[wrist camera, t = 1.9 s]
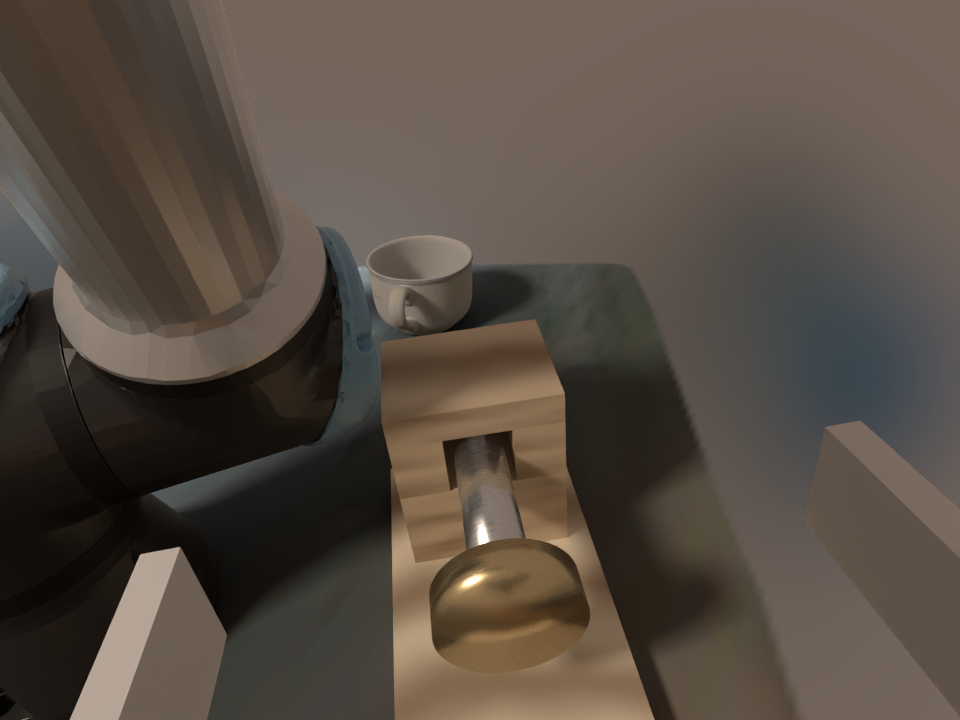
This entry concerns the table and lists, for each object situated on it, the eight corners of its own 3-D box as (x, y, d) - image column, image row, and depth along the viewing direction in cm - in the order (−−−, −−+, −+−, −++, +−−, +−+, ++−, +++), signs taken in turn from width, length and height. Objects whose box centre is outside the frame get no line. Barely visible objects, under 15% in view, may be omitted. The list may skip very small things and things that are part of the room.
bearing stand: (677, 806, 29) (712, 649, 21) (402, 859, 29) (336, 716, 21) (558, 456, 49) (554, 308, 41) (393, 482, 48) (358, 337, 40)
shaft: (589, 657, 29) (591, 564, 25) (442, 684, 29) (420, 593, 25) (537, 476, 39) (532, 388, 35) (427, 494, 39) (409, 407, 35)
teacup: (409, 291, 74) (397, 228, 69) (493, 302, 70) (487, 235, 65) (345, 356, 63) (327, 287, 59) (440, 373, 59) (429, 300, 55)
